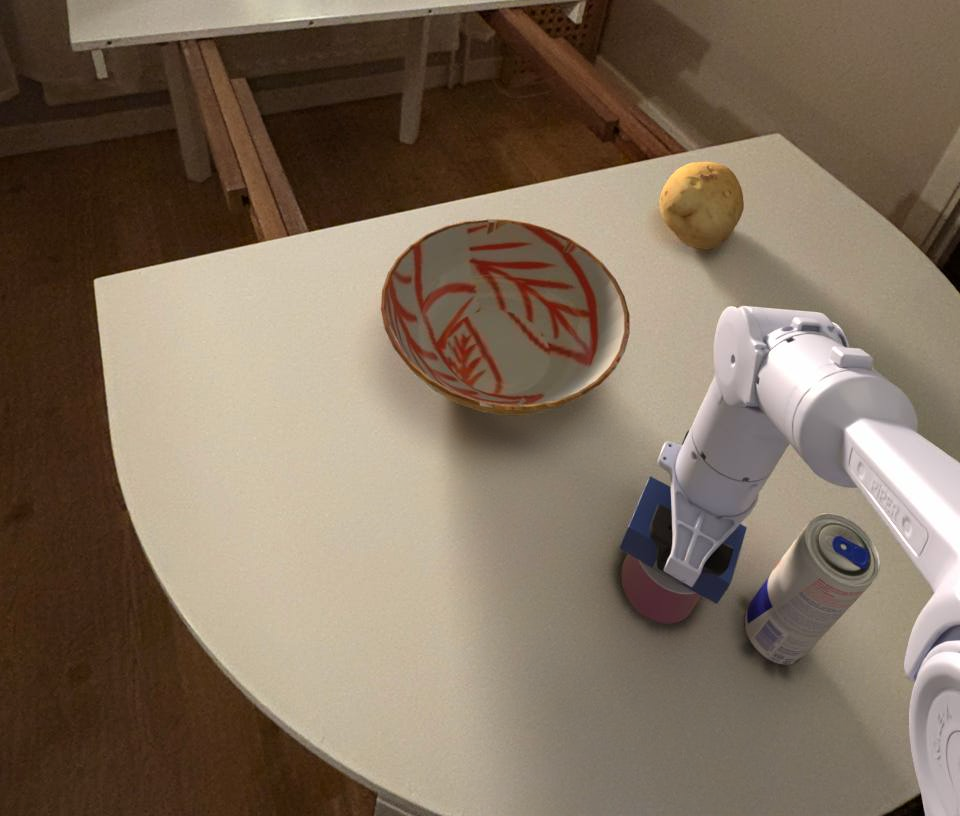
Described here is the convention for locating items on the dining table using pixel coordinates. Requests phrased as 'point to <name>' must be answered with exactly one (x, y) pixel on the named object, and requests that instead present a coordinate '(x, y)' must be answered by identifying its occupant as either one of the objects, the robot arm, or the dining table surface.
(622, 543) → the block
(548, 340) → the bowl
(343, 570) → the dining table surface
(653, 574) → the yogurt
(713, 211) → the potato
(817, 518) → the beverage can
